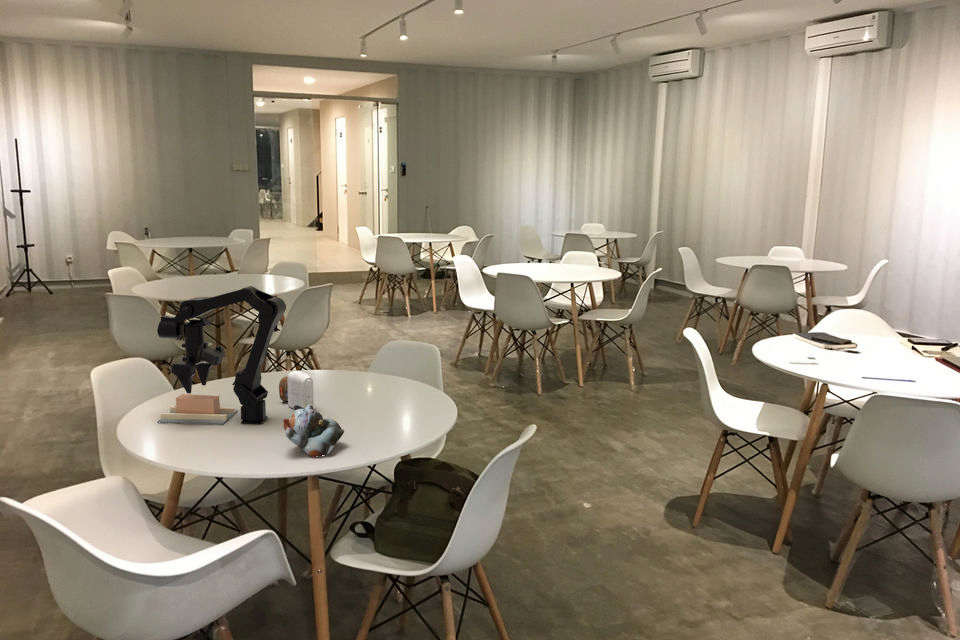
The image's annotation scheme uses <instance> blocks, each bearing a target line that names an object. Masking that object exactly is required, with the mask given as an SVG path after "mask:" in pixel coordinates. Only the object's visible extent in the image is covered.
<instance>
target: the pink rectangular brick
mask: <svg viewBox="0 0 960 640" xmlns="http://www.w3.org/2000/svg"><path fill="white" fill-rule="evenodd" d="M175 404H176V405H175V406H176V410H177V413H182V414H220V406H221V404H220V395H212V394H211V395H210V394H209V395H208V394H207V395H206V394H192V393H190V394H188V393H187V394H186V393H181V394H180V395H178V396H175Z"/></svg>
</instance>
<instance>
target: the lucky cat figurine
mask: <svg viewBox="0 0 960 640" xmlns="http://www.w3.org/2000/svg"><path fill="white" fill-rule="evenodd" d="M282 423H283V425H282V426H283V430H284V433H285V434H284V435H285V437H286V438H287V439H288V440H289V441H290V442H291V443H293V444H294V445H296V446H297V447H298V448H300V449H301V450H302V451H304V452H305V453H306V454H307V455H308V456H309V457H312V458H317V457H316V456H322V455H325V456H327V455H329V454H331V452H332V451H334V449H335V447H336V445H337V443H338V442H339V441H340V439H341V438H342V437H343V435H344V433H345V430H344V429H343V428H342V427H341V425H340V424H339V422H338V421H336V420H334V419H332V418H331V419H330V418H323V415H322V413H320V411H318V410H316V409H314V405H313V406H312V405H308V406H307V407H306V408H302V407H300V406H298V405H295V406H294V408H293V410H292V414H291V416H290V417H288V418H284V419H283V420H282Z"/></svg>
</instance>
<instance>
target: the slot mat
mask: <svg viewBox="0 0 960 640" xmlns="http://www.w3.org/2000/svg"><path fill="white" fill-rule="evenodd" d="M169 410H170V412H161V413H160V419H159V420H157V424H168V423H183V424H182V425H209V424H210V425H211V426H213V425H214V426H215V425H216V426H224V425H225V424H226V423H227V422H228V421H229V420H230V419H232V418H233V417H234V416H235V415H236V414H237V413H238V412H239V411H238V409H236V408H235V407H223V406H222V407H220V414H182V413H177V410H176V405H175V406H173V405H172V406H170V407H169ZM159 422H160V423H159Z"/></svg>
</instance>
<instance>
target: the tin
mask: <svg viewBox="0 0 960 640" xmlns="http://www.w3.org/2000/svg"><path fill="white" fill-rule="evenodd" d="M288 375H289V373H288V374H286V375H285V376H283V377H282V378H281V379H280V381H279V382H278V383H279V384H278V392H279V393H278V395H279V398H280V400H281V401H282V402H286V401H288Z"/></svg>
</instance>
